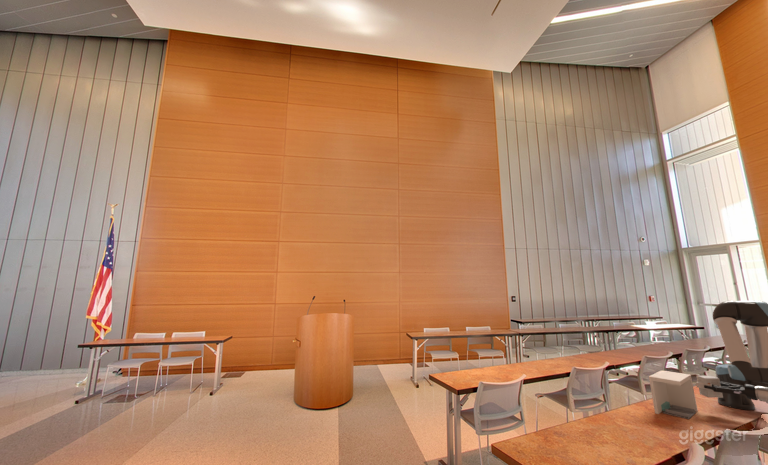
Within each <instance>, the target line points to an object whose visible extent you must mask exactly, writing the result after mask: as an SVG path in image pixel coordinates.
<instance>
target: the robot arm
mask: <svg viewBox="0 0 768 465" xmlns="http://www.w3.org/2000/svg"><path fill="white" fill-rule="evenodd" d="M712 320H713V322H714V324H716V325H717V328H718V330H719V333H720V335H721V338H722V341H723V345H724V348H725V349H726V353H727V355H728V359H729V361H730V364H729V363H728V364H718V365H716V366H715V375H716V378H719V380H720V384H721V386H714V385H713V384H712V385H710V384H704V383H698V382H697V381H696V382H695V385H696V388H698V389H699V388H703V389H709V390H713V391H714V392H721V393H722V394H723V398H717V403H718V404H720V405H722V406H725V407H728V408H732V409H737V410H739V409H740V410H745V411H747V410H748V411H752V410H756V405H755V403H754V402H753V401H760V402H764V403H765V404H768V302H766V301H761V300H760V301H759V300H725V301H722V302H720V303H718V304H717V305H716V306H715V307H714V309H713V312H712ZM738 321H739V322H740V324H742V325H743V326H744V329H745V336H746V342H747V349H748V351H747V350H746V347H745V345H744V342H743V339H742V337H741V334H740V331H739V329H738V327H737V324H738Z"/></svg>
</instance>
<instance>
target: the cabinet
mask: <svg viewBox="0 0 768 465" xmlns="http://www.w3.org/2000/svg"><path fill="white" fill-rule="evenodd" d="M648 380H649V386H650V391H651V396H652V403H653V409H654V410H653V411H654V414H656V415H659V414H661V413H662V414H665V415H669V416H673V417H677V418H681V419H686V420H690V419H691V418H692V417H693V416H695V414H696V413H697V412H698V411H699V410H698V405H697V399H696V395H695V394H696V393H695V388H694V384H693V379H692V374H688V373H681V372H675V371H668V370H661V369H660V370H659V371H657V372H655V373H654V374H653V373H652V374H651V375H649V376H648Z"/></svg>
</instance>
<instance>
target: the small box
mask: <svg viewBox="0 0 768 465" xmlns="http://www.w3.org/2000/svg"><path fill="white" fill-rule="evenodd" d="M695 376H696V380H697V381H696V382H698V383H704V384H710V385H712V384H713V385H714V386H721V384H720V380H719V378H717V376H713V375H695ZM698 390H699V392H698V393H699V395H701V396H704V397H707V398H714V399H715V398H716V399H718V398H723V394H722V393H721V392H714V391H713V390H709V389H703V388H698Z"/></svg>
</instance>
